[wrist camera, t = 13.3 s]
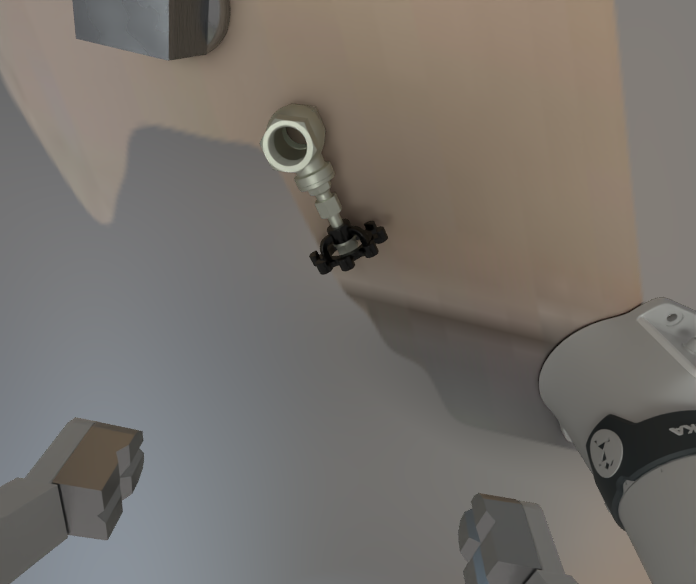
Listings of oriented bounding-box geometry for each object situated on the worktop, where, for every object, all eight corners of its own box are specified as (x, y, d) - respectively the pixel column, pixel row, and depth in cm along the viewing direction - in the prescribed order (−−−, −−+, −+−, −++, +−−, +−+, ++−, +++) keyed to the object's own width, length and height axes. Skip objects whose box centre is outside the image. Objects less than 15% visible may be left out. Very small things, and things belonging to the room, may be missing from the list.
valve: (252, 118, 35) (318, 248, 40) (228, 137, 29) (309, 285, 34) (329, 81, 33) (387, 222, 38) (319, 93, 27) (389, 256, 33)
